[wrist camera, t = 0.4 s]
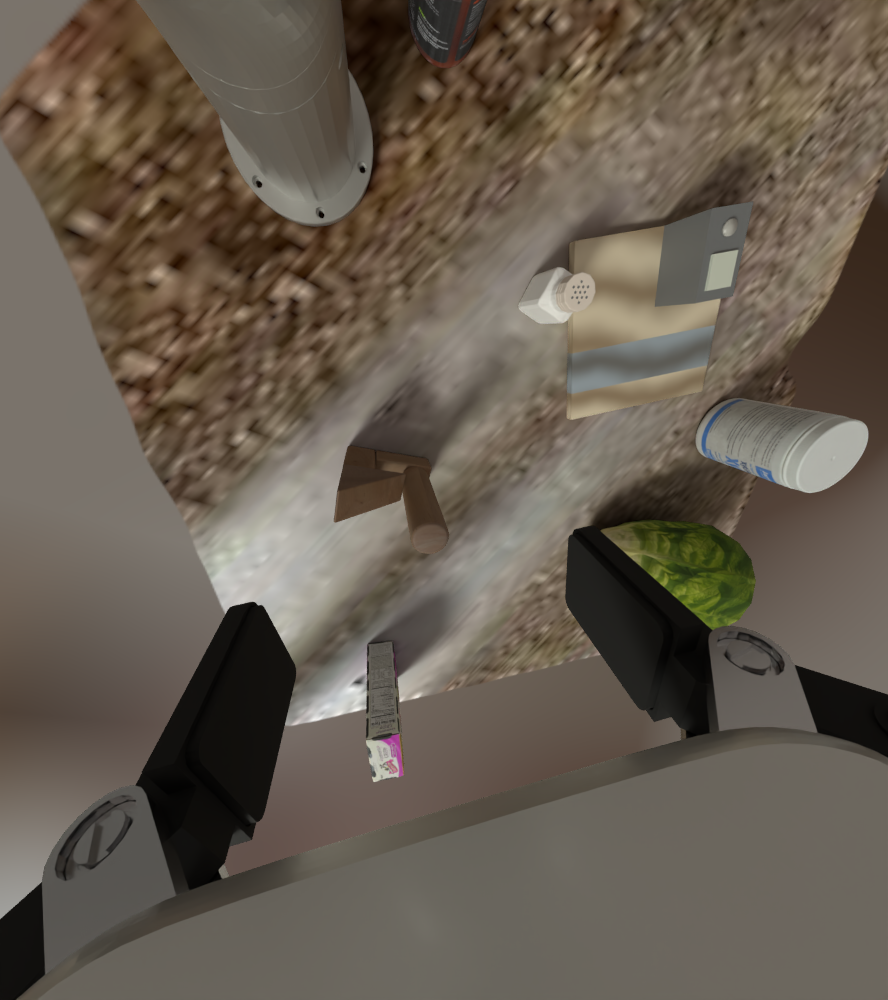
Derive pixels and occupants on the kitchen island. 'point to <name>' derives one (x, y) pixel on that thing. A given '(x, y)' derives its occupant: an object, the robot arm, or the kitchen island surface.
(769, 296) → the kitchen island surface
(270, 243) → the kitchen island surface
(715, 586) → the lettuce
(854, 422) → the supplement tub
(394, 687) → the candy bar box
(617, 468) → the kitchen island surface
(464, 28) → the supplement bottle
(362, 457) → the wooden letter
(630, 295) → the plywood panel
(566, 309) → the pepper shaker
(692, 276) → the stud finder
